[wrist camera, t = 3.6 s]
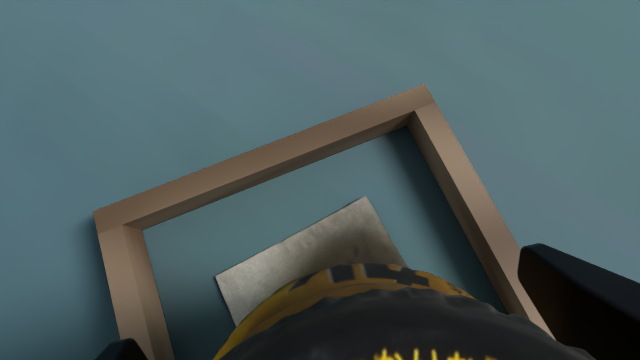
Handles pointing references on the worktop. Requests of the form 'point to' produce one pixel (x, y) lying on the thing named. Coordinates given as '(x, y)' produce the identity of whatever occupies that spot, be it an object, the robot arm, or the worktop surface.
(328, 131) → the walnut frame
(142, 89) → the worktop surface
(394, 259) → the condiment
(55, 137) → the worktop surface
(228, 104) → the worktop surface
